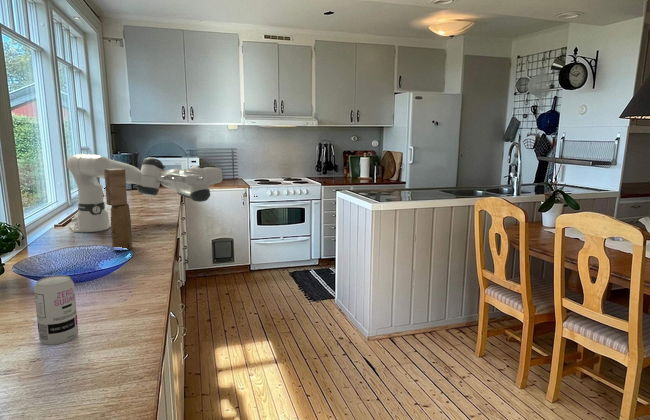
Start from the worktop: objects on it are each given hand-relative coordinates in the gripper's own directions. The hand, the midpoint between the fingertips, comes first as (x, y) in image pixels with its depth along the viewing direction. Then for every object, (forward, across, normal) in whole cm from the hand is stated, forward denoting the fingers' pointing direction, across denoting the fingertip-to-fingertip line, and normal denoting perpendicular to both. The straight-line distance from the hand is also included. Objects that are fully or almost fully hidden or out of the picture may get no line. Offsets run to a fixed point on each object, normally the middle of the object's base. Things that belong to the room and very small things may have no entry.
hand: (167, 178), depth 196 cm
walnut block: (+23, 0, -9) cm, 25 cm away
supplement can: (+69, -71, -29) cm, 103 cm away
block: (+22, 0, -30) cm, 37 cm away
